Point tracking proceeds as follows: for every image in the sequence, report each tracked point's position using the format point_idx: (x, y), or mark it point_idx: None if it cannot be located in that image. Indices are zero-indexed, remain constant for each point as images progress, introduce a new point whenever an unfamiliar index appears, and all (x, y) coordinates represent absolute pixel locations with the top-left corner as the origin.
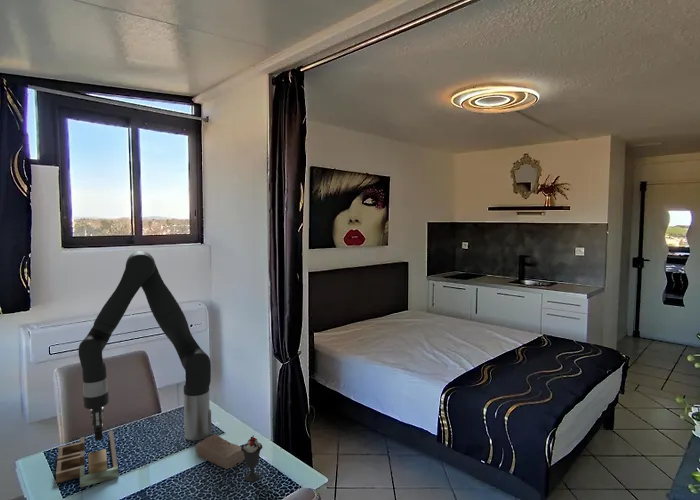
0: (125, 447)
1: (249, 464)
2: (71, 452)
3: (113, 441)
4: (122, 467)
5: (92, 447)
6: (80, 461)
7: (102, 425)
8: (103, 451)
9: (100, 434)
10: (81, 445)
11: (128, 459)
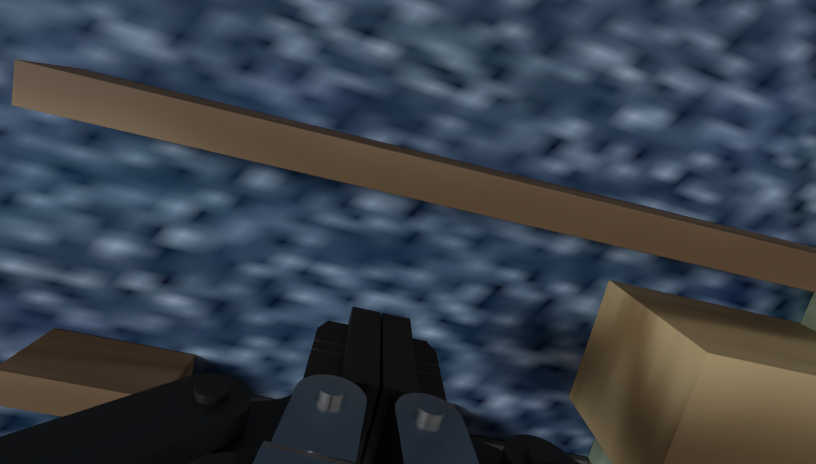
0: (403, 38)
1: None
2: None
3: (358, 152)
4: (748, 186)
5: (171, 286)
6: None
7: (348, 394)
8: (743, 386)
9: (439, 386)
10: None
11: (661, 99)
